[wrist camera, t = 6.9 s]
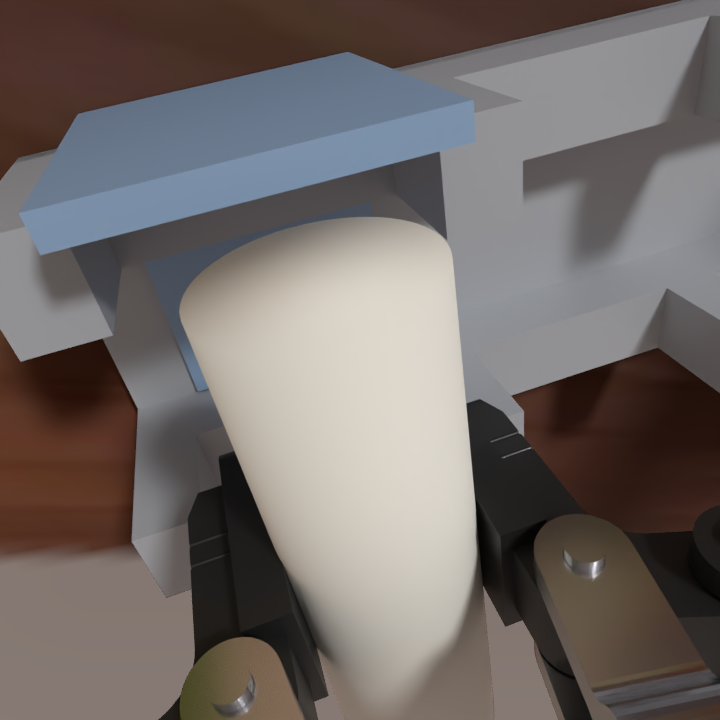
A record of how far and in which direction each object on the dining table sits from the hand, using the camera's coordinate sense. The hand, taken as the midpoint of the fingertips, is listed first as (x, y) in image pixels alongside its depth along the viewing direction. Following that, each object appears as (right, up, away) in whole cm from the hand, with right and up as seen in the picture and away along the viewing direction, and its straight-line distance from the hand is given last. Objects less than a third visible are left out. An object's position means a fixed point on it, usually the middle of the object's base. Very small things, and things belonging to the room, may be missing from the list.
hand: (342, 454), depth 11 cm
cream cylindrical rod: (0, 0, -1) cm, 1 cm away
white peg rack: (+5, +6, +7) cm, 11 cm away
